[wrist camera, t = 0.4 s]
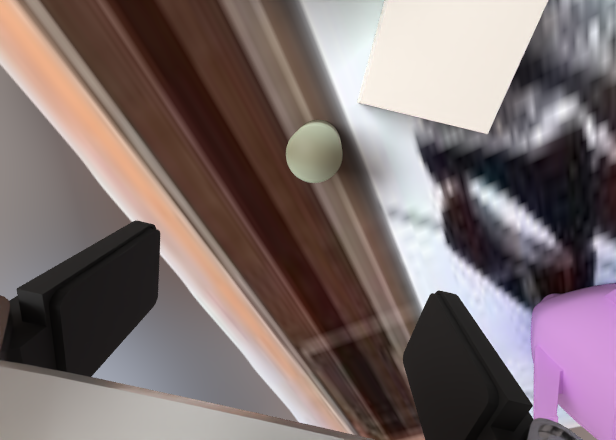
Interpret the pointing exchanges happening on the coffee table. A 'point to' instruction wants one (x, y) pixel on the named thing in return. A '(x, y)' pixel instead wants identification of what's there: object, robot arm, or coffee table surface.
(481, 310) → the coffee table surface
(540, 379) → the teapot
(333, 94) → the coffee table surface
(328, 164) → the green domed cylinder
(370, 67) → the base
